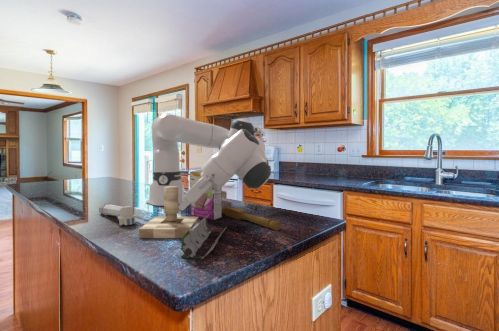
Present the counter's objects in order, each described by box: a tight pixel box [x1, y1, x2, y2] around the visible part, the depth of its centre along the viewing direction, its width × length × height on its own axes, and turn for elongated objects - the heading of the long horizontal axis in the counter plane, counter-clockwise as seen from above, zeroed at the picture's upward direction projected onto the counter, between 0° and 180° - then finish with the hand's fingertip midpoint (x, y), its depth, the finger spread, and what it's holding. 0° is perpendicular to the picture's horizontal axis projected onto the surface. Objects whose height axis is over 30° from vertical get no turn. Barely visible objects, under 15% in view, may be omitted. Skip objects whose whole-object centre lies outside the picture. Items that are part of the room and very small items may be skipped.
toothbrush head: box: [98, 202, 137, 226], centre depth 107 cm, size 5×7×25 cm
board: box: [138, 216, 199, 239], centre depth 93 cm, size 15×14×2 cm
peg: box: [163, 186, 179, 224], centre depth 94 cm, size 4×4×13 cm
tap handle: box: [222, 206, 282, 231], centre depth 105 cm, size 3×3×30 cm
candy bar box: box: [189, 170, 223, 221], centre depth 110 cm, size 11×5×16 cm, turn 57°
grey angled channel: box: [180, 211, 228, 260], centre depth 82 cm, size 7×7×25 cm
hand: (184, 205), depth 94 cm, fingers open, 8 cm apart
